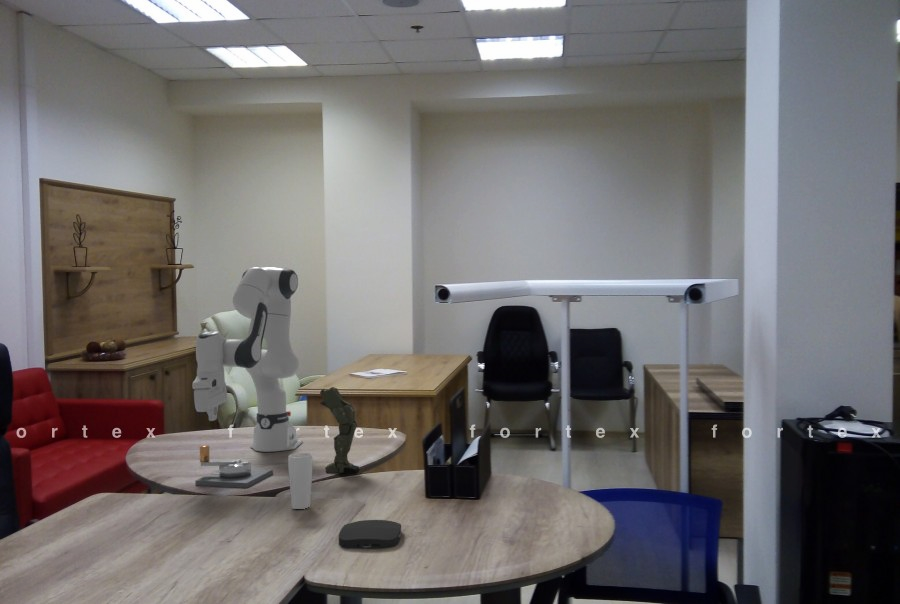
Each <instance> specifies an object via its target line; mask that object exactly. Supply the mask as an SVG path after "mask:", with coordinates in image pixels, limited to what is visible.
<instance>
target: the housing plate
mask: <svg viewBox="0 0 900 604" xmlns="http://www.w3.org/2000/svg"><path fill="white" fill-rule="evenodd" d="M273 474H274V469H270V468H268V469H267V468H251V474H249V475H247V476H243V477H236V478H225V477H221V476H219V469H218V470H216V471H214V472H211V473H208V474H206V475H205V476H202V477H200V478H198V479H196V480H195V481H194V482H195V486H202V487H205V486H206V487H220V488H221V487H222V488H223V487H224V488H244V489H246V488H247V489H248V488H249V487H251V486H252V485H255V484H257V483H259V482H260V481H262V480H264V479H266V478H268V477H270V476H271V475H273Z"/></svg>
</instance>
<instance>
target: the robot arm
mask: <svg viewBox="0 0 900 604" xmlns="http://www.w3.org/2000/svg"><path fill="white" fill-rule="evenodd" d="M298 285H299V278H298V274H297V273H296V272H295V270H294V269H290V268H287V267H286V268H283V267H282V268H281V267H274V266H273V267H272V266H270V267H259V266H258V267H257V266H255V267H250V268H247V269H246V270H245V271H244V272H243V274H242V276H241V279H240V281H239V282H238V285H237V287H236V289H235V291H234V294H233V297H232V304H233V307H234V308H235V310H236V311H237V312H238V314H240V315H241V316H243V317H245V318H248V319H250V324H249V328H248V331H247V332H248V333H247V335H246V336H245V337H243V338H237V339H235V338H226V337H224V336H222V334H221V332H220V331H219V330H218V331H217V330H208V331H204V332H201V333H200V334H198V336H197V338H196V343H195V344H196V345H195V359H196V363H197V367H196V376H195V379H194V380H193V381H192V384H191V385H192V389H193V399H194V401H193V402H194V407H195V410H196V412H198V413H204V412H205V413H206V414H207V415H208V421H209V422H214V421H216V420H217V419H218V411H219V406H220V405H222V404H224V403H226V402H227V401H228V390H227V383H226V381H225V367H231V368H236V367H237V368H244V369H245V370H246V372H247V373H248V374H249V376H250V377H251V379H252V382H253V383H254V387H255V391H256V399H257V413H256V425H255V426H254V427H253V439H252V444H250V449H253V451H256V452H262V453H263V452H267V453H269V452H271V453H272V452H281V451H289V450H290V451H291V450H295V449H297V448H298V447H299V446H300V445H301V444H302V443H303V442H304V441H303V439H301V438H297V437H298V436H297V435H298V434H297V429H296V427H295V426H294V425H293V424H292V422H290V421H289V420H290V419H289V418H290V417H291V415H292V412H291V411H290V410H289V411H287V393H286V390H285V389H284V388H283V387H282V386H281V384H280V381H279V380H280V379H283V380H284V379H287V378H291V377H294V376H295V375H296V373H298V370H299V365H300V361H299V359H298V356H297V355H296V354H295V352H294V351H293V349H292V344H291V342H290V326H291V317H292V315H291V314H292V306H291V305H292V300H291V297H292V296H293V295H294V294H295V293H296V291H297V289H298ZM263 339H264V341H265V344H266V345H265V346H266V349H263V348H262V347H263V346H262V345H263Z"/></svg>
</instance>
